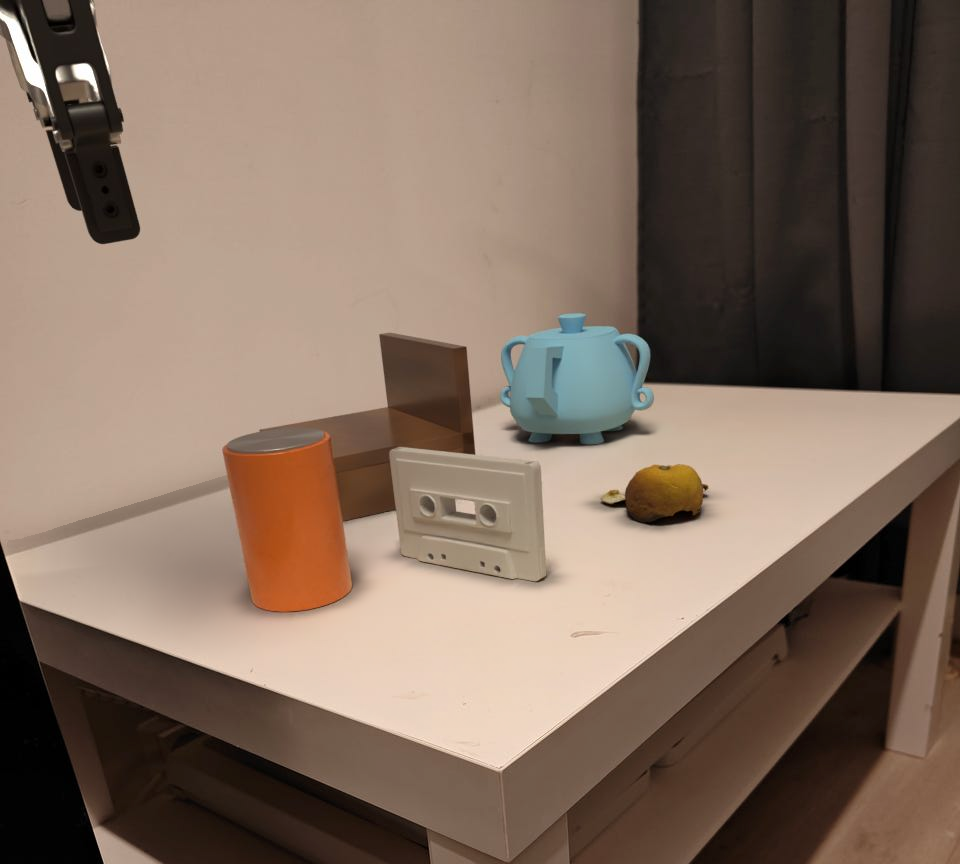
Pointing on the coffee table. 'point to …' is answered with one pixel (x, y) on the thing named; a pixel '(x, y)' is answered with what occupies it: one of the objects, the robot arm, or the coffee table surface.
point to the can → (289, 518)
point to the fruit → (661, 492)
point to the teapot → (575, 380)
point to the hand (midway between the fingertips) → (104, 222)
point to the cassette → (470, 537)
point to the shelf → (400, 420)
